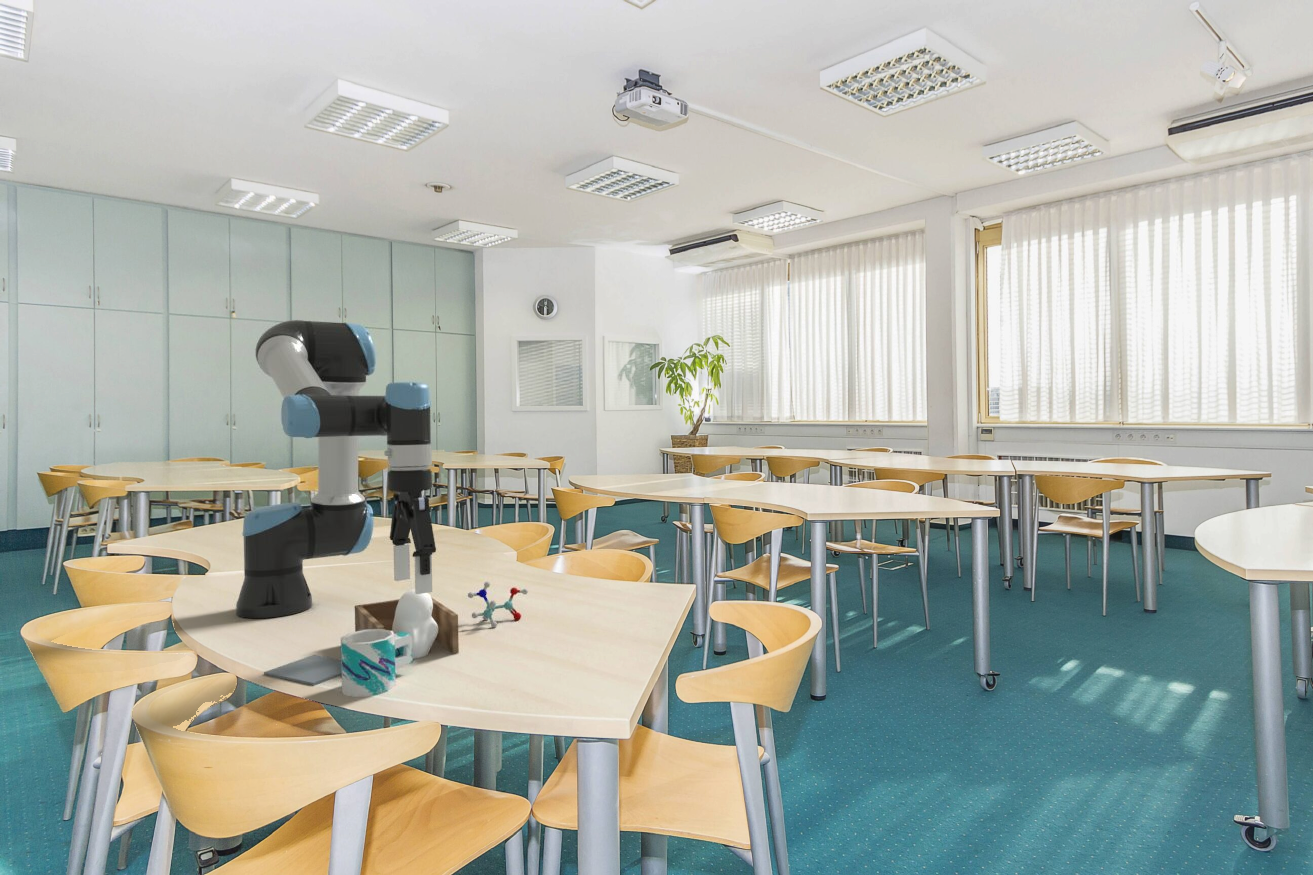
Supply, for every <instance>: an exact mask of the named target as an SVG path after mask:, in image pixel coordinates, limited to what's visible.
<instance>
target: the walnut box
mask: <svg viewBox="0 0 1313 875" xmlns="http://www.w3.org/2000/svg"><path fill="white" fill-rule="evenodd" d="M431 598H432V602H433V609H432V615H431V616H432V618H433V619H434V621H435V622H436V623H437V625H438V634H437V637H436V639H435V640H434V641H436V642H437V643H439V644H440V645H441V646H442V647H444V648H445V649H446V650H448V651H449V652H450V653H451V654H452V655H453V654H459V649H460V648H459V644H460V643H459V614H458V613H456V612H454V611H453V610H451V609H450V608H449V607H447V606H445V605H444V604H442V603H441V602H439V601H438V600H436V599H434V598H433V597H432V596H431ZM399 600H400V598H398V599H391V600H384V601H379V602H377V601H376V602H372V603H371V602H370V603H364V604H359V605H354V621H355V622H354V632H356V631H361V630H366V629H384V630H390V631H392V626H393V622H394V618H395V611H396V607H397V604H398V602H399Z"/></svg>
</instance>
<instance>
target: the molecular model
mask: <svg viewBox="0 0 1313 875" xmlns="http://www.w3.org/2000/svg"><path fill="white" fill-rule="evenodd" d="M489 587H491V583H490V582H489V581H485V582H484V585H483V588H481V589H480V590H479V591H478V592H473V591H470V592H468V594H467V597H468V598H469V599H472V598H473V597H476V596H477V597H478V596H479V598H483V600H484V601H485V604H486V608H485V609H484V611H483V612H476V611H475V612H472V613H471V618H472V619H477V618H478V617H482V620H484V621H488V620H489V621H490V626H491V627H492V628H493V629H494V628H497V627H498V623H497V621H495V620H494V618H493V612H495V610H497V609H505V610H506V611H509V613H510V614H511V615H512V616H513V619H514V620H515V621H519V620H520V619H521V618H522V614H521V613H520V612H518V611H517V610H516V609H515V607H513V606H514V604H513V602H512V601H513V598H514V596H516V595H517V594H523V595H527V594H528V592H529V590H528V589H527V588H523V589H518V588H517V587H514V586H513V587H511V588H510V592H509V593H510V596H509V599H508V600H507V601H505V602H504V604H501V605H497V602H496V600H491V601H489V599H488V597H487V594H488V593H487V589H488V588H489Z"/></svg>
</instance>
